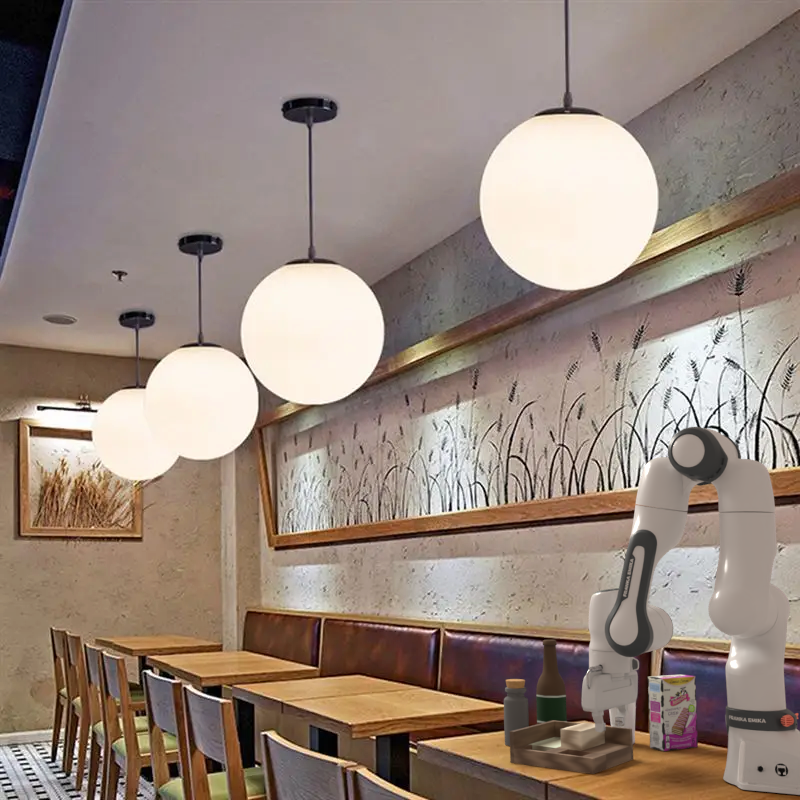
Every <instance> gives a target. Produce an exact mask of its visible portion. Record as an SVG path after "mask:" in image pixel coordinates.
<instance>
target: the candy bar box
mask: <svg viewBox="0 0 800 800" xmlns="http://www.w3.org/2000/svg"><path fill="white" fill-rule="evenodd" d="M647 683H648V684H647V686H648V688H647V689H648V690H647V691H648V693H647V694H648V721H649V722H648V723H649V725H648V726H649V747H650V749H653V750H655V751H656V750H657V751H660V752H667V751H669V752H670V751H678V750H685V749H691V748H693V749H694V748H698V746H699V745H698V744H699V743H698V742H699V740H698V715H697V712H698V711H697V690H696V689H697V688H696V687H697V686H696V675H689V674H668V675H667V674H666V675H651V676H647Z"/></svg>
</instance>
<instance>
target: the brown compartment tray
mask: <svg viewBox="0 0 800 800" xmlns="http://www.w3.org/2000/svg"><path fill="white" fill-rule="evenodd" d="M581 723H582V722H581ZM581 723H580V722H573V721H567V722H564V721H555V720H552V721H548V722H544V723H540V724H537V723H536V724H532V725H529V727H525V728H521V729H517V730H513V731H510V746H509V752H510V753H509V758H510V761H509V762H510V763H512V764H519V765H527V766H532V767H533V766H535V767H542V768H547V769H554V770H562V771H568V772H576V773H577V772H578V773H582V774H584V773H585V774H591V775H595V774H597V773H600V772H603V771H605V770H609V769H611V768H613V767H616V766H619V765H622V764H624V763H627V762H630V761H633V760H634V744H633V739H632V729H630V728H621V727H611V725H606V727H605V728H606V730H605V743H604V744H601V745H598V746H595V747H592V748H588V749H585V750H582V751H580V750H572V749H564V748H561V730H560V729H563V728H566V727H570V726H573V725H577V724H581Z"/></svg>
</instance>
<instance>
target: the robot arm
mask: <svg viewBox="0 0 800 800" xmlns="http://www.w3.org/2000/svg"><path fill="white" fill-rule="evenodd" d="M696 485H697V486H701V487H702V486H706V485H713V486H714V488H715V490H716V492H717V499H718V500H717V501H718V503H717V504H718V532H719V534H718V535H719V536H718V537H719V552H718V553H719V554H718V560H717V561H718V563H717V567H716V568H717V569H716V575H715V581H714V588H713V593H712V595H711V597H710V599H709V602H708V616H709V620H711V623H712V625H714V627H715V628H716V629H718V630H719V631H720V632H722V633H724V634H725V635H728V636H730V637H731V641H730V648H729V652H728V658H727V660H726V664H725V682H726V685H725V686H726V698H727V705H726V706H725V715H724V717H725V728H726V734H727V736H728V737H727V756H726V763H725V768H724V773H723V777H722V779H723V781H725V782H727V783H729V784H731V785H734V786H736V787H738V788H739V789H741V790H744V791H754V792H755V791H756V792H765V793H766V792H767V793H777V794H787V795H797V796H800V730H799V729H797V728H798V720H799V713H798V712H796V713H794V712H793V711H792V710H790V709H789V708H787V703H786V688H785V687H786V685H785V673H784V672H785V656H786V655H785V654H786V653H785V652H786V644H787V633H788V620H789V618H790V617H789V616H790V613H791V604H790V600H789V598H788V596H787V595H786V594H785V593H784V591H783V590H782V589H780V588H779V587H777V586H776V585H775V584H772V583H771V580H772V575H773V574H772V572H773V567H774V562H775V558H776V556H777V552H778V550H777V549H778V547H777V546H778V545H777V527H776V526H777V525H776V521H777V520H776V506H775V505H776V503H775V496H774V491H773V490H774V489H773V484H772V480H771V475H770V473H769V470H768V468H767V467H766V466H765V465H764V464H763V463H762V462H759V461H758V460H754V459H752V458H751V459H750V458H749V459H748V458H742V455H741V450H740V448H739V446H738V444H737V443H735V441H734V440H733V439H732V438H731V437H729V436H727V435H725V434H722V433H720V432H718V431H716V430H713V429H709V428H706V427H705V428H703V427H700V426H689V427H686V428H683V429H681V430H679V431H678V432H676V433H675V434H674V435H673V436H672V438H671V439H670V441H669V443H668V447H667V456H659V457H655V458H652V459H650V460H648V462H646V464H645V465H644V467H643V469H642V474H641V477H640V480H639V484H638V488H637V493H636V497H635V506H634V511H633V512H634V514H633V521H632V525H631V526H632V527H631V533H630V536H629V540H628V541H629V542H628V545H627V549H626V553H625V557H624V561H623V566H622V572H621V577H620V581H619V586H618V588H617V587H616V588H607V589H601V590H597V591H595V592H593V594H592V595H591V597H590V601H589V607H588V631H589V636H590V639H589V640H590V642H589V645H588V670H587V672H586V673H585V675H584V677H583V679H582V680H583V681H582V688H581V708H582V710H583V711H584V712H591V717H592V720H593V722H594V724H595V731H596V732H604V731H605V730H606V728H605V727H606V726H607V724H606V722H604V715H605V714H604V713H605V712H604V711H606V710H609V709H611V708H615V707H616V708H617V716H616V717H615V725H616V726H624V725H625V717H626V713H627V710H628V704H630V703H634V702H635V701H636V702H637V699H638V694H639V693H638V691H639V690H638V689H639V687H638V685H639V684H638V683H639V681H638V680H639V676H638V675H639V674H638V672H637V671H638V670H639V668H640V661H639V660H638V659H637V658H635V657H639V656H640V655H642V654H645V653H649V652H653V651H657V650H659V649H662V648H664V647H665V646H667V645H668V644H669V643H670V642H671V640H672V638H673V634H674V624H673V620H672V618H671V616H670V615H669V614H668V612H667V611H666V610H664V609H663V608H661V607H658V606H655V605H653V604H650V603H649V600H650V594H651V590H652V584H653V578H654V574H655V570H656V568H657V566H658V565H659V562H660V561H661V560H662V558H663V557H664V556H665V555H667V554H668V552H670V551H671V550H672V549H674V548H675V547H676V546H678V544H680V542H681V541H682V538H683V537H684V536H683V535H684V532H685V529H686V524H687V519H688V511H689V502H690V495H691V492H692V490H693V489H694V487H695V486H696Z"/></svg>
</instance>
